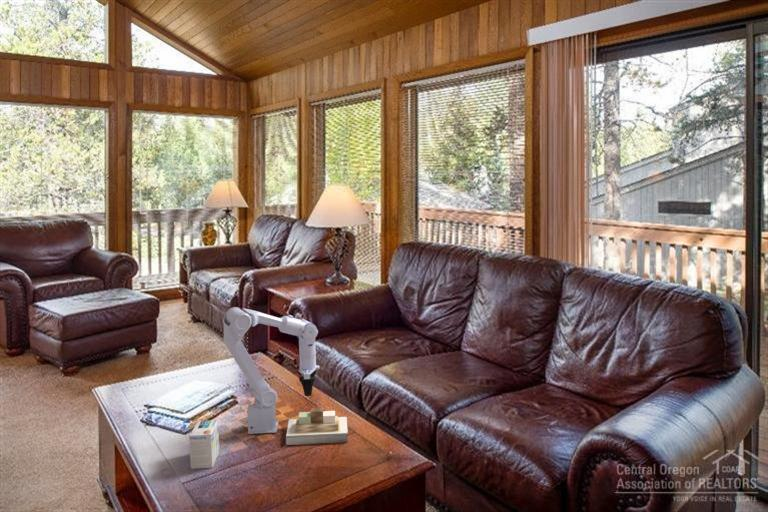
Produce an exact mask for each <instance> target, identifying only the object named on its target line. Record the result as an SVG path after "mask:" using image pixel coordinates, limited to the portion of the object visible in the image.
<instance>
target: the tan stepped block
mask: <svg viewBox="0 0 768 512" xmlns="http://www.w3.org/2000/svg"><path fill="white" fill-rule="evenodd" d="M323 411H324V408H323V407H311V409H310V412H311V424H299V417H296V419H297V421H296V432H313V431H333V430H338V417H339V416H338V415H335V423H323Z"/></svg>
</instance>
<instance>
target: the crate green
mask: <svg viewBox="0 0 768 512" xmlns="http://www.w3.org/2000/svg"><path fill="white" fill-rule="evenodd" d="M298 418H299V424H311V411H300V412H298Z"/></svg>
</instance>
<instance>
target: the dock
mask: <svg viewBox="0 0 768 512" xmlns="http://www.w3.org/2000/svg"><path fill="white" fill-rule="evenodd" d="M296 421H297V418H296V419H295V418H291V419H288V422H287V423H288V424H287V428H286V429H287V431H286V435H285V445H286V446H296V445H299V446H300V445H313V444H314V445H317V444H334V443H335V444H336V443H348V442H349V434H348V433H349V431H348V417H347V416H338V430H333V431H313V432H296Z"/></svg>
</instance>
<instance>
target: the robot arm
mask: <svg viewBox="0 0 768 512" xmlns="http://www.w3.org/2000/svg"><path fill="white" fill-rule="evenodd" d="M224 314H225V315H224V317H223V320H222V321H223V322H222V323H223V342H224V344H225V346H226V348H227V349H228V351H229V352H230V355H231V356H232V357H233V359H234V361H235V362H236V364H237V366H238V367H239V369H240V370H241V372H242V374H243V376H244V377H245V378H246V380H247V382H248V385H249V387H250V390H251V391H250V392H251V393H250V394H251V395H252V397H253V398H254V401H253V403H250V404H248V406H247V417H246V418H247V434H249V435H255V434H276V433H277V431H278V427H279V421H277V416H276V415H277V413H276V403H277V401H278V393H277V391H276V390H275V389H273V388H272V387H271V386H270V384H268V383H267V381H266V380H265V379H264V377H263V374H262V373H261V372H260V370H259V368H258V367H257V366H256V364H255V362H254V361H253V359H252V357H251V356H250V353H249V352H248V351H247V349H246V347H245V346H244V343H243V342H242V340H243V337H244V335H245V334H246V333H247V331H248V330H249V329H250V328H251V327H255V326H257V325H258V324H261V325H265V326H270V327H275V328H278V330H279V332H280V333H284V334H288V335H292V336H296V337H298V348H299V349H298V350H299V352H298V355H299V367H298V369H299V371H300V372H301V373H302V376H299V378H298V380H299V382H300V383H301V386H302V389H303V392H304V396H305V397H312V393H313V386H314V382H315V380H316V379H317V378H316V376H315V375H316V372H317V370H319V369H320V365H317V356H316V355H317V351H316V347H317V346H316V338H317V336H318V335H319V330H318V328H317V326H316V325H315V323H312V322H311V321H308V320H306V319H304V318H301V319H299V318H296V317H294V316H293V315H291V314H288V315H284V316H281V317H277V316H274V315H271V314H267V313H264V312H261V311H257V310H253V309H249V308H240V307H238V306H234V307H231V308H229V309H228V310H227V311H226V313H224Z"/></svg>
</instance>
